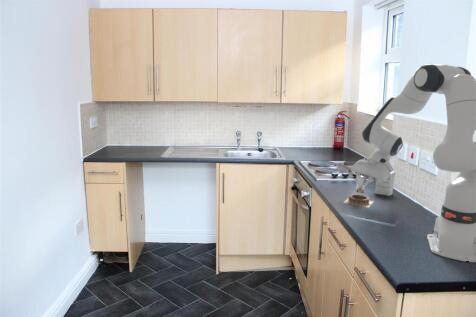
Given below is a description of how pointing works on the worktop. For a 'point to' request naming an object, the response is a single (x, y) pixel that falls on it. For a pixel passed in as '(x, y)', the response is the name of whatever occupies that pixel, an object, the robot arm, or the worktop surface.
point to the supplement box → (385, 186)
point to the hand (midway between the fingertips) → (360, 183)
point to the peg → (360, 184)
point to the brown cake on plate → (359, 200)
